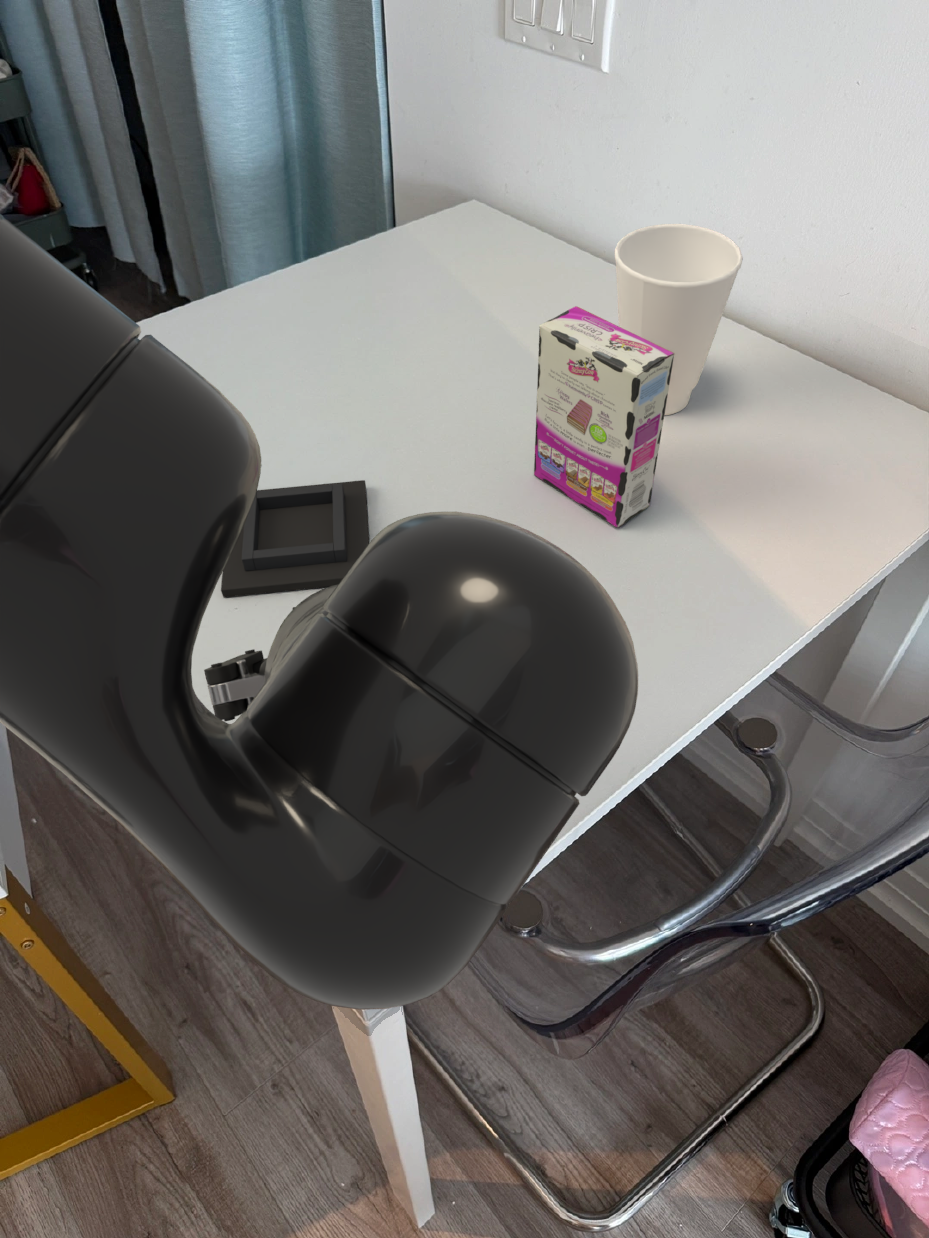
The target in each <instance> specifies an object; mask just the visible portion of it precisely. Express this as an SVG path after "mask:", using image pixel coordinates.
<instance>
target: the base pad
mask: <svg viewBox="0 0 929 1238" xmlns="http://www.w3.org/2000/svg"><path fill="white" fill-rule="evenodd" d="M367 495H368V494H367V483H366V479H362V480H351V481H340V482H330V483H321V484H320V483H319V484H308V485H298V486H287V487H277V488H265V489H257V492H256V495H255V497H254V500H253V503H252V506H251V508H250V511H249V514H248V516H247V519H246V522H245V525H244V527H243V529H242V531H241V533H240V535H239V538H238V540H237V542H236V544H235V546H234V548H233V550H232V553H231V555H230V557H229V559H228V561H227V563H226V565H225V567H224V569H223V572H222V574H221V585H220V592H221V595H222V597H223V598H233V597H243V596H253V595H265V594H273V593H275V594H276V593H284V592H292V591H293V592H294V591H303V590H304V591H305V590H315V589H325V588H327V587H330V586H334V585H338V584H339V583H340V582H341V580H342V579H343V578H344V576H345V575H346V574H347V572H348V571H349V570H350V568H351V567H352V566H353V564H354V563H355V562H356V560H357V559H358V558H359V556H360V555H361V554H362V552H363V551H364V550H365V548H366V547H367V546H368V544H369V543H370V530H369V512H368V497H367Z"/></svg>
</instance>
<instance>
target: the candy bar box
mask: <svg viewBox="0 0 929 1238" xmlns="http://www.w3.org/2000/svg"><path fill="white" fill-rule="evenodd" d="M538 330H539V333H538V334H539V335H538V357H537V361H538V362H537V388H536V412H535V415H536V417H535V437H534V438H535V440H534V464H533V475H534V476H535V477H536V478H537V479H539V480H541V481H542V482H544V483H545V484H547V485H549V486H550V487H551V488H553V489H555V490H556V491H559V492H560V493H561V494H563V495H565V496H566V497H568V498H569V499H571V500H572V501H574V502H576V503H578V504H579V505H581V506H582V507H583V508H585V509H587V510H589V511H590V512H592V513H593V514H595V515H596V516H598V517H600V518H602V520H604V521H606V522H608V524H610V525H612V526H614V527H615V528H620V527H621V526H623V525H624V524H626V523H627V522H628V521H630V520H631V519H633V518H634V517H636V516H637V515H639V514H640V513H643V512H644V511H645V510H646V509H648V507H650V505H651V502H652V500H651V499H652V495H653V487H654V481H655V476H656V469H657V462H658V456H659V450H660V445H661V438H662V432H663V431H662V430H663V425H664V420H665V415H664V414H665V408H666V402H667V396H668V390H669V383H670V377H671V371H672V365H673V358H674V354H675V353H673V352H671V351H669V350H667V349H665V348H663V347H660V346H658V345H656V344H654V343H652V342H650V341H648V340H646V339H644V338H642V337H640V336H638V335H636V334H633V333H631V332H629V331H627V330H625V329H623V328H621V327H619V325H617V324H616V323H612V322H610V321H609V320H606V319H604V318H602V317H601V316H598V315H596V314H594V313H591V312H589V311H588V310H586V309H584V308H581V307H580V306H577V305H575V306H573V307H572V308H569V309H568V310H565V311H563V312H562V313H560V314H558V315H557V316H554V317H552V318H551V319H549V320H547V321H545V322H543V323H541V324H539V329H538Z"/></svg>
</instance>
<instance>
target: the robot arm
mask: <svg viewBox="0 0 929 1238" xmlns="http://www.w3.org/2000/svg"><path fill="white" fill-rule="evenodd" d="M141 333H142V329H141V326H140V325H139V324H138V323H137V322H135V321H134V320H133V319H132V318H130V317H129V316H128V315H126V314H125V313H124V312H123V311H121V310H120V309H119V307H118V308H117V306H115V305H114V304H113V303H112V302H110V301H109V300H108V299H106V297H104V296H103V295H102V294H101V293H99V292H98V291H96V290H95V289H94V288H93V287H92V286H90V285H89V284H88V283H87V282H85V280H83V279H81V277H79V276H78V275H77V274H76V273H75V272H73V271H71V269H69V268H68V267H67V266H66V265H64V264H63V263H62V262H60V261H59V260H58V259H57V258H55V256H53V255H52V254H51V253H50V252H48V251H47V250H46V249H44V248H43V247H42V246H41V245H40V244H38V243H37V242H36V241H34V240H33V239H32V238H31V237H30V236H28V235H27V234H26V233H24V231H22V230H21V229H19V228H18V227H17V226H15V224H14V223H12V222H11V221H10V220H8V219H6V218H5V217H4V216H3V214H1V213H0V724H1V725H3V726H4V727H5V728H7V730H9V731H10V732H11V733H13V734H14V735H15V736H17V737H18V738H19V739H20V740H22V741H23V742H24V743H25V744H26V745H28V746H29V747H30V748H32V749H33V750H34V751H35V752H37V753H38V754H39V755H40V756H42V758H43V759H45V760H46V761H47V762H48V763H50V764H51V765H53V767H55V768H56V769H57V770H58V771H60V772H61V773H62V774H63V775H64V776H65V777H66V778H68V780H70V782H72V783H73V784H74V785H75V786H76V787H78V788H79V789H80V790H81V791H82V792H83V793H85V794H86V795H87V796H88V797H89V798H91V800H93V801H94V802H95V803H96V804H97V805H98V806H99V807H100V808H101V809H102V810H104V811H105V812H106V813H107V814H108V815H110V817H112V818H113V819H114V820H115V821H116V822H117V823H118V824H119V825H120V826H121V827H122V828H123V829H124V830H125V831H126V832H128V834H129V835H130V836H131V837H132V838H133V839H134V840H136V842H137V843H138V844H139V845H141V847H142V848H143V849H144V850H145V851H146V852H148V853H149V855H151V856H152V857H153V859H155V861H156V862H158V864H159V865H160V866H161V867H162V868H163V869H164V870H165V871H166V872H167V873H168V875H170V876H171V878H172V879H173V880H174V881H175V882H176V883H177V885H179V887H180V888H182V890H184V892H185V893H186V894H187V895H188V896H189V897H190V898H191V899H192V900H193V902H194V903H195V904H196V905H197V906H198V907H199V908H200V909H201V910H202V911H203V912H204V913H205V915H206V916H208V917H209V919H210V920H211V921H212V922H213V923H214V924H215V925H216V926H217V928H219V929H220V930H221V931H222V932H223V933H224V935H226V936H227V937H228V938H229V940H231V941H232V942H233V943H234V945H235V946H236V947H237V948H238V949H240V950H241V951H242V952H243V953H244V954H245V955H247V956H248V957H249V958H250V959H251V960H252V961H253V962H254V963H256V964H257V966H259V968H261V969H262V970H263V971H264V972H266V973H267V974H268V975H269V976H270V977H272V978H273V979H274V980H276V981H277V982H279V983H280V984H282V985H283V986H284V987H286V988H288V989H290V990H292V991H293V992H295V993H297V994H298V995H300V996H301V997H302V996H303V997H305V998H307V999H310V1000H312V1001H314V1002H317V1003H321V1004H324V1005H327V1006H331V1007H336V1008H337V1007H338V1008H345V1009H351V1010H359V1011H363V1010H365V1011H367V1010H369V1011H370V1010H387V1009H388V1010H389V1009H392V1008H398V1007H403V1006H409V1005H412V1004H415V1003H417V1002H420V1001H422V1000H425V999H428V998H430V997H432V996H434V995H436V994H437V993H439V992H440V991H442V990H443V989H444V988H445V987H447V986H448V985H449V984H450V983H451V982H452V981H453V980H454V979H455V978H456V977H457V976H458V975H460V973H461V972H462V971H463V970H464V969H465V968H466V967H467V966H468V964H469V963H470V961H472V959H473V958H474V956H475V955H476V954H477V952H478V951H479V949H480V948H481V947H482V946H483V944H484V943H485V941H486V940H487V939H488V937H489V936H490V934H491V933H492V931H493V930H494V928H495V927H496V926H497V924H498V923H499V921H500V920H501V919H502V917H503V915H504V914H505V913H506V911H507V910H508V908H509V905H510V903H512V902H514V900H515V898H517V895H518V894H519V892H520V891H521V890H522V888H523V887H524V885H525V884H526V882H527V881H528V879H529V878H530V877H531V875H532V874H533V872H534V871H535V869H537V867H538V865H539V864H540V862H541V861H542V859H543V858H544V857H545V855H546V853H547V852H548V850H549V849H550V847H551V846H552V845H553V843H554V842H555V840H556V839H557V838H558V836H559V834H561V832H562V831H563V829H564V828H565V826H566V824H567V823H568V821H569V820H570V819H571V817H572V816H573V814H574V813H575V812H576V810H577V808H578V807H579V806H580V804H581V803H580V799H579V798H578V797H576V795H577V794H578V795H579V796H580V797H586V796H587V795H588V794H589V793H590V792H591V790H592V788H593V787H594V786H595V785H596V783H597V782H598V780H599V778H600V777H601V776H602V774H603V773H604V771H605V770H606V768H608V766H609V764H611V761H612V760H613V758H614V757H615V755H616V754H617V752H618V751H619V749H620V747H621V745H622V743H623V741H624V739H625V737H626V734H627V733H628V731H629V729H630V726H631V724H632V720H633V718H634V715H635V711H636V706H637V701H638V696H639V665H638V664H639V663H638V660H637V656H636V655H637V654H636V651H635V650H636V649H635V645H634V641H633V637H632V635H631V632H630V630H629V627H628V625H627V623H626V621H625V619H624V617H623V616H622V614H621V612H620V610H619V608H618V607H617V605H616V603H615V602H614V600H613V598H612V597H611V596H610V594H609V593H608V591H607V590H606V589H605V588H604V586H603V584H601V582H600V581H599V580H598V579H597V578H596V577H595V575H593V574H592V572H590V571H589V570H588V569H587V568H586V567H585V566H584V565H583V564H582V563H580V562H579V561H578V560H577V559H576V558H574V557H573V556H572V555H571V554H569V553H568V552H567V551H565V550H563V548H561V547H559V546H557V545H556V544H554V543H553V542H551V541H549V540H548V539H546V538H544V537H543V536H540V535H538V534H536V533H534V532H532V531H531V530H529V529H527V528H523V527H522V526H519V525H517V524H514V523H511V522H508V521H504V520H501V519H497V518H493V517H490V516H487V515H482V514H476V513H469V512H461V511H431V512H424V513H416V514H413V515H410V516H406V517H403V518H400V519H397V520H396V521H394V522H392V523H390V524H388V525H387V526H385V527H384V528H382V529H381V530H380V531H378V533H377V534H376V535H375V536H373V538H372V539H371V541H369V544H368V546H367V547H366V548H365V550H364V551H363V552H362V554H361V555H360V556H359V558H358V559H357V560H356V562H355V563H354V564H353V566H352V567H351V568H350V570H349V571H348V572H347V574H346V575H345V576H344V578H343V579H342V580H341V582H340V583H339V584H338V585H334V586H330V587H325V588H321V589H320V590H317V591H315V592H314V593H311V595H309V596H307V597H306V598H304V599H303V600H302V601H300V602H299V603H298V604H297V605H296V606H294V607H295V608H294V609H293V608H292V610H290V612H289V613H288V615H287V616H286V617H285V618H284V620H283V621H282V623H281V624H280V626H279V628H278V630H277V632H276V634H275V636H274V639H273V640H272V644H271V645H270V649H269V652H268V655H267V657H266V658H264V654H263V650H255V648H253V649H249V650H245V651H244V654H240V655H237V656H235V657H232V658H230V659H228V660H227V659H226V660H225V661H223V662H222V661H221V662H217V663H213V664H210V667H208V668H205V669H203V672H204V676H205V681H206V684H207V690H208V693H209V697H210V702H211V705H212V709H213V712H212V711H211V710H210V709H208V708H207V706H205V705H204V703H203V702H202V701H201V700H200V698H199V697H198V696H197V694H196V692H195V689H194V687H193V686H194V685H193V677H192V676H193V675H192V667H193V666H192V665H193V663H192V662H193V654H194V648H195V644H196V641H197V638H198V634H199V631H200V628H201V624H202V621H203V618H204V616H205V613H206V611H207V608H208V605H209V603H210V601H211V598H212V596H213V594H214V592H215V589H216V586H217V585H218V582H219V580H220V577H222V573H223V569H224V567H225V565H226V563H227V561H228V559H229V557H230V555H231V553H232V550H233V548H234V546H235V544H236V542H237V540H238V538H239V535H240V533H241V531H242V529H243V527H244V525H245V522H246V519H247V516H248V514H249V511H250V508H251V506H252V503H253V500H254V497H255V495H256V492H257V490H258V488H259V483H260V478H261V473H262V472H261V471H262V453H261V447H260V444H259V440H258V438H257V434H256V433H255V431H254V429H253V428H252V426H251V424H250V422H249V421H248V419H247V418H246V417H245V416H244V414H243V413H242V412H241V411H240V409H239V408H237V407H236V406H235V405H234V404H233V403H232V402H231V401H230V400H229V398H227V397H226V396H225V394H223V393H222V392H221V391H220V389H218V388H217V387H216V386H214V384H212V382H210V381H209V380H207V379H206V378H205V377H204V376H203V375H202V374H200V373H199V372H198V371H197V370H196V369H195V368H193V367H192V366H191V365H190V364H189V363H188V362H186V361H184V360H183V359H182V358H181V357H179V356H178V355H177V354H176V353H174V352H173V351H172V350H170V349H169V348H168V347H167V346H165V345H164V344H163V343H162V342H161V341H159V340H158V339H157V338H156V337H154V336H153V335H152V334H145V335H144V336H142V337H141V339H140V338H139V337H140V336H141ZM236 717H238V718H237V719H236ZM233 720H235V721H234V722H232V723H228V722H229V721H233Z"/></svg>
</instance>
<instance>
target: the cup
mask: <svg viewBox="0 0 929 1238" xmlns="http://www.w3.org/2000/svg"><path fill="white" fill-rule="evenodd" d="M743 260H744V257H743V253H742V250H741V247H739V246H738V245H737V243H736V242H735V241H734V240H732V239H731V238H730V237H728V236H727V235H725V234H723V233H721V232H719V231H716V230H713V229H711V228H708V227H703V226H699V225H695V224H685V223H662V224H654V225H648V226H644V227H640V228H638V229H635V230H633V231H631V232H628V233H626V234H625V235H624V236H623V237H622V238H621V239H620V240H619V241H618V242H617V244H616V247H615V249H614V261H615V267H616V268H615V271H616V273H615V274H616V275H615V276H616V294H617V296H616V297H617V315H618V326H619V327H621V328H623V329H625V330H627V331H629V332H631V333H633V334H636V335H638V336H640V337H642V338H644V339H646V340H648V341H650V342H652V343H654V344H656V345H658V346H660V347H663V348H665V349H667V350H669V351H671V352H673V353H675V354H674V358H673V365H672V371H671V377H670V383H669V390H668V396H667V402H666V408H665V414H664V416H668V415H674V414H676V413H679V412H681V411H682V410H684V409H685V408H686V407H687V406H688V404H689V402H690V398H691V395H692V392H693V390H694V389H695V387H696V386H697V385H698V383H699V381H700V379H701V375H702V373H703V370H704V367H705V364H706V361H707V359H708V357H709V353H710V350H711V348H712V346H713V342H714V340H715V336H716V334H717V331H718V329H719V325H720V323H721V320H722V317H723V314H724V313H725V312H724V311H725V308H726V307H727V303H728V300H729V298H730V296H731V295H730V294H731V292H732V290H733V287H734V284H735V281H736V278H737V276H738V272H739V271H740V269H741V268H742V264H743Z"/></svg>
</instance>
